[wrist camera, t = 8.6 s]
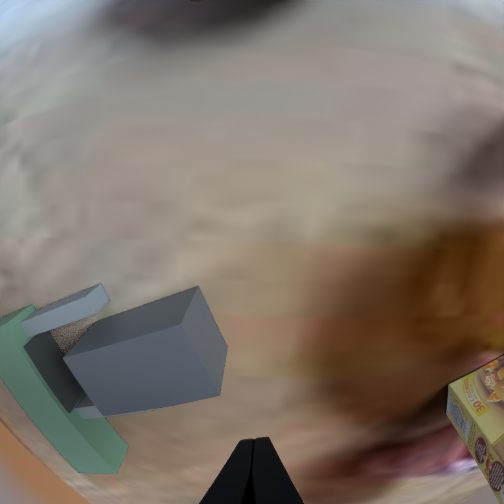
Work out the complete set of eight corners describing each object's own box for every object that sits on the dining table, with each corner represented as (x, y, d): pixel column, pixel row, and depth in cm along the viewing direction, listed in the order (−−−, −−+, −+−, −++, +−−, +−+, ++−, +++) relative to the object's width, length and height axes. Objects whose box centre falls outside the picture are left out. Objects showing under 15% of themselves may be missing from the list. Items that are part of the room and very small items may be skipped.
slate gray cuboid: (227, 345, 20) (219, 395, 15) (127, 372, 21) (103, 416, 16) (198, 284, 19) (180, 323, 14) (97, 320, 20) (62, 358, 15)
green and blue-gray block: (195, 438, 23) (189, 470, 19) (90, 448, 24) (77, 472, 21) (97, 275, 19) (70, 296, 16) (0, 318, 20) (-24, 336, 17)
